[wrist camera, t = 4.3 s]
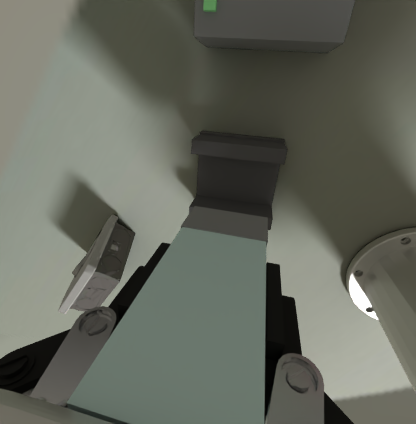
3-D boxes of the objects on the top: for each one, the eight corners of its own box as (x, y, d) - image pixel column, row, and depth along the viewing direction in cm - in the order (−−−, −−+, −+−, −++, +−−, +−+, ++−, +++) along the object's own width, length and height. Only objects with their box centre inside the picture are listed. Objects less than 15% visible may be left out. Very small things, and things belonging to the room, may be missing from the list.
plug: (267, 217, 13) (266, 467, 4) (255, 276, 15) (238, 536, 6) (194, 205, 14) (63, 400, 5) (191, 263, 16) (92, 480, 7)
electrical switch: (114, 210, 31) (69, 258, 23) (149, 232, 32) (117, 286, 24) (87, 253, 35) (41, 306, 27) (118, 271, 36) (83, 328, 28)
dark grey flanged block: (284, 139, 23) (287, 147, 20) (268, 213, 27) (269, 231, 23) (202, 130, 24) (191, 137, 21) (198, 203, 28) (188, 219, 24)
